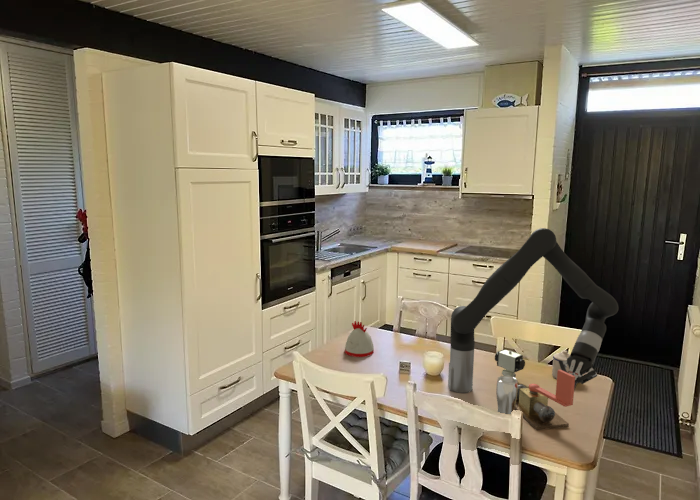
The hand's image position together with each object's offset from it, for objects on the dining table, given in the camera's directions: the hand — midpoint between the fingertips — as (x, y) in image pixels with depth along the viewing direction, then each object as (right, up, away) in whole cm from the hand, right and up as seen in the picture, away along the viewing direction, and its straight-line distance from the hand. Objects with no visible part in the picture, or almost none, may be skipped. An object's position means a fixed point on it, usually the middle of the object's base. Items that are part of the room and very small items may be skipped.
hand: (568, 391), depth 161 cm
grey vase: (-18, -13, +8) cm, 24 cm away
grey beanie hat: (-68, -2, +72) cm, 99 cm away
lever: (-4, -4, +6) cm, 8 cm away
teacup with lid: (+19, -7, +45) cm, 49 cm away
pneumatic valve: (-5, -7, +43) cm, 44 cm away
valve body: (-7, -12, +13) cm, 19 cm away
